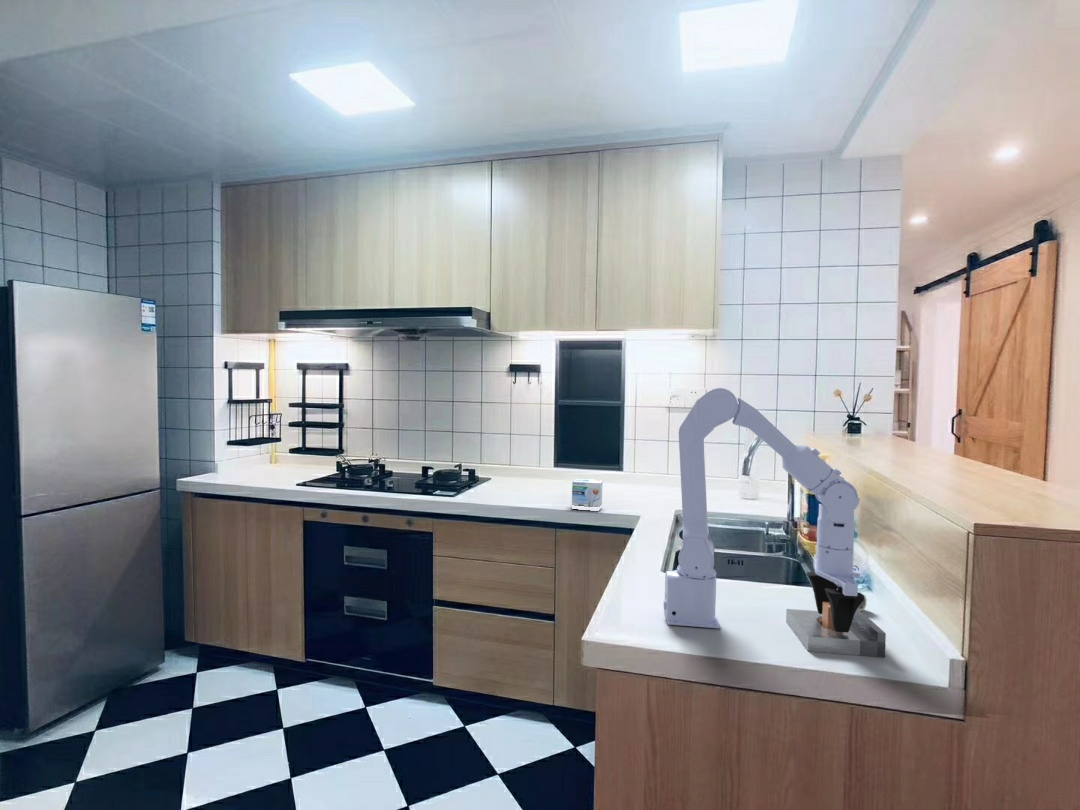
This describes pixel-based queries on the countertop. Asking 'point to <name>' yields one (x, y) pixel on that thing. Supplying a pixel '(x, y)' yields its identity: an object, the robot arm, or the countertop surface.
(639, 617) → the countertop surface
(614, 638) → the countertop surface
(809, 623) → the grey square base
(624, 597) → the countertop surface
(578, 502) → the light bulb box
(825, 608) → the pin
